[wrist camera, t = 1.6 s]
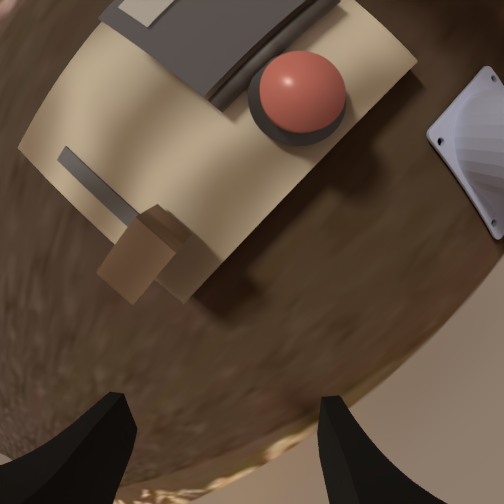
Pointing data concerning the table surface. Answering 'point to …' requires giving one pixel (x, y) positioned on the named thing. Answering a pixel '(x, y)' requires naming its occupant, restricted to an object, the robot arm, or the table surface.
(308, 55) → the push button
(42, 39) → the table surface
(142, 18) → the paddle switch
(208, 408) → the table surface
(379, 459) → the robot arm
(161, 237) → the slider knob
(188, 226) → the control panel
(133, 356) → the table surface
